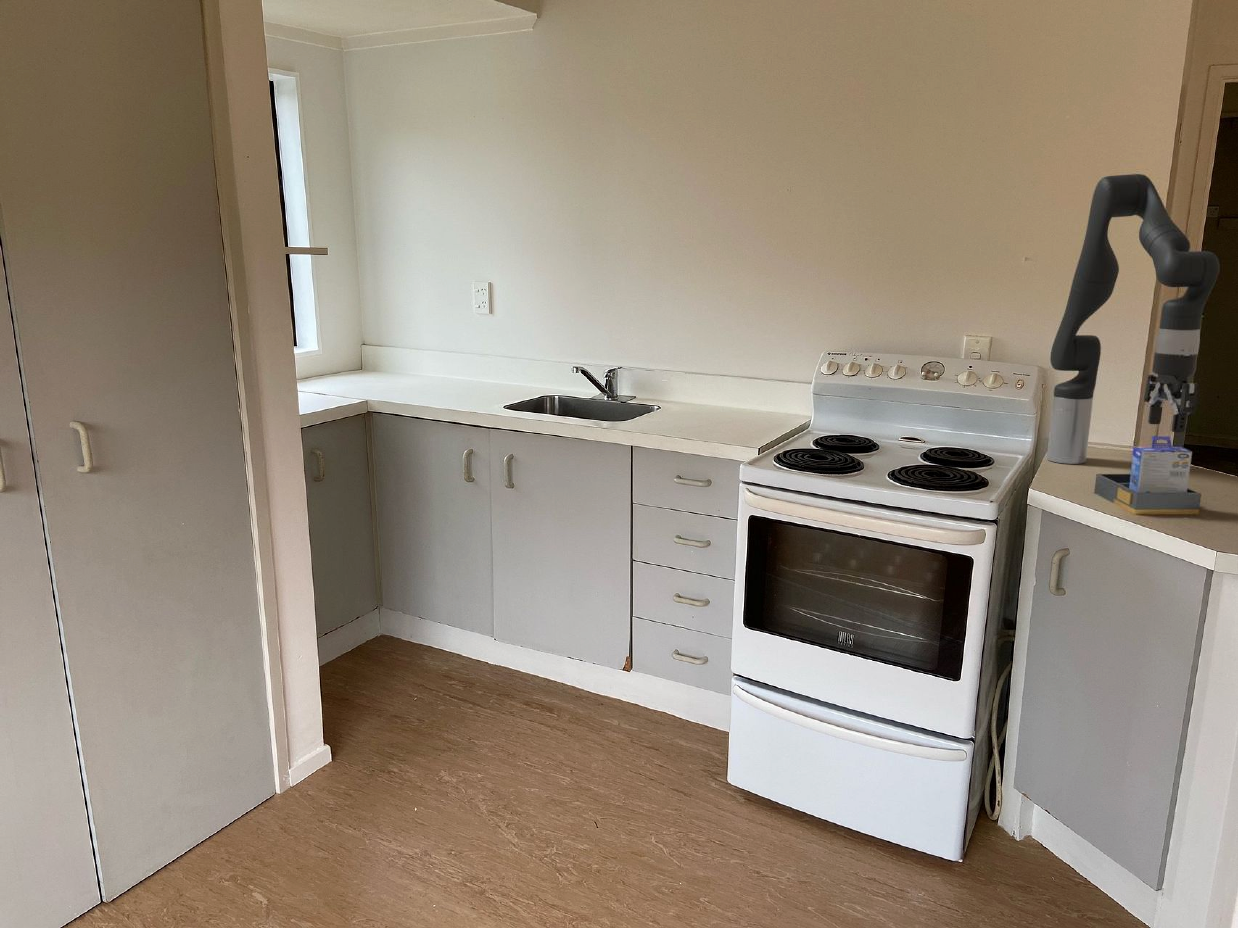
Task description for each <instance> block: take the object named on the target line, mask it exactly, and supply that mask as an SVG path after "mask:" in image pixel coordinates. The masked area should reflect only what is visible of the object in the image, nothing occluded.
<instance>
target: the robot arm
mask: <svg viewBox="0 0 1238 928" xmlns="http://www.w3.org/2000/svg"><path fill="white" fill-rule="evenodd" d="M1091 198H1092V199H1091V203H1090V209H1089V215H1088V220H1087V225H1086V230H1085V235H1084V240H1083V244H1082V248H1081V252H1080V256H1079V259H1078V262H1077V266H1076V268H1075V271H1074V274H1073V279H1072V282H1071V286H1070V291H1069V295H1068V298H1067V299H1068V300H1067V302H1066V305H1065V309H1064V313H1063V316H1062V319H1061V321H1060V324H1059V327H1058V329H1057V332H1056V334H1055V338H1054V341H1053V343H1052V346H1051V350H1050V361H1049V362H1050V365H1051V368H1053V369H1054V370H1055V371H1061V372H1062V371H1063V372H1078V373H1077V375H1075V376H1074V377H1073V378H1071V379H1069V380H1066V381H1062V382H1060V383H1057V384H1056V385H1055V386H1054V388H1053V396H1052V404H1051V405H1052V407H1051V415H1050V417H1051V418H1050V424H1049V425H1050V426H1049V434H1048V443H1047V444H1048V445H1047V455H1046V456H1047V457H1046V459H1047V460H1048V461H1050V462H1054V463H1059V464H1070V465H1071V464H1072V465H1074V464H1076V465H1077V464H1084V463H1085V464H1086V462H1087V453H1088V446H1089V436H1090V427H1091V420H1092V419H1091V418H1092V410H1093V409H1092V408H1093V402H1094V401H1093V400H1094V394H1095V388H1096V384H1097V378H1098V377H1097V376H1098V371H1099V365H1100V361H1101V354H1102V353H1101V351H1102V345H1101V341H1100V338H1099V337H1098V336H1096V335H1092V334H1091V335H1089V334H1087V335H1086V334H1085V335H1084V334H1083V335H1082V334H1077V333H1078V331H1080V330H1079V329H1080V328H1081V327H1082V326H1083V324H1084V323H1085V322H1086V321H1087V320H1088V319H1089V318H1090V317H1091V316H1093V314H1095V313H1096V312H1097V311H1098V310H1100V308H1101V307H1102V306H1104V305H1105V304H1106V303H1107V302H1108V300H1109V299H1110V298H1111V296H1112V294H1113V292H1114V289H1115V286H1116V282H1117V279H1118V275H1119V273H1120V266H1119V262H1118V259H1117V256H1116V254H1115V252H1114V250H1113V248H1112V246H1111V243H1110V240H1109V237H1108V236H1109V234H1108V233H1109V226H1110V222H1111V220H1112V218H1124V217H1125V218H1126V217H1134V216H1138V217H1139V218H1140V219H1142V222H1141V225H1140V228H1139V231H1138V238H1139V242H1140V245H1141V246H1142V248H1143V249H1144V250H1145V252H1146V253H1147V254H1148V255H1149V256H1150V258H1151V259H1152V262H1153V263H1152V264H1153V267H1154V269H1155V276H1156V280H1157V281H1158V282H1159V283H1160V284H1161V285H1163V286H1164V287H1168V288H1186V290H1185V292H1184V293H1183V295H1182V296H1180V297H1178V298H1177V297H1176V298H1173V299H1168V300H1165V302H1163V305H1162V307H1161V314H1160V321H1159V327H1158V328H1159V329H1158V333H1157V336H1156V341H1155V347H1154V348H1155V349H1154V356H1153V361H1152V363H1153V364H1152V372H1153V374H1148V375H1147V379H1146V384H1145V385H1146V386H1145V390H1144V391H1145V392H1144V398H1143V401H1144V403H1148V404H1147V405H1148V406H1149V412H1148V414H1149V415H1148V421H1147V422H1148V424H1150V425H1160V424H1161V421H1162V416H1163V415H1162V414H1163V406H1164V404H1165V402H1166V401H1167V402H1168V404H1169V405H1170V406H1172V411H1173V413H1174V414H1172V415H1173V416H1172V423H1171V430H1170V431H1171V432H1172V433H1176V434H1177V433H1184V432H1185V429H1186V423H1187V422H1186V421H1187V416H1188V415H1190V414H1194V413H1196V412H1197V411H1196V410H1197V401H1198V393H1199V384H1198V383H1195V382H1194V383H1189V377H1190V376H1193V375H1195V373H1196V370H1197V364H1198V363H1197V361H1198V356H1199V350H1200V341H1201V339H1200V338H1201V336H1200V333H1201V324H1202V317H1203V312H1204V308H1205V305H1206V303H1207V301H1208V298H1209V296H1210V294H1211V293H1212V290H1213V288H1214V286H1215V284H1216V282H1217V279H1218V276H1219V274H1220V261H1219V258H1218V257H1217V255H1216V254H1215V253H1214V252H1212V251H1207V250H1201V251H1200V250H1198V251H1197V250H1196V251H1195V250H1194V251H1193V250H1192V251H1190V249H1191V242H1190V240H1189V238H1188V237H1187V235H1186V234H1184V232H1183V231H1182V230H1181V229H1180V228H1179V227H1178V226H1177V225H1176V223H1175V222H1174V221H1173V220H1172V217H1170V215H1169V213H1168V212H1167V209H1166V207H1165V205H1164V203H1163V201H1162V198H1161V197H1160V194H1159V193H1158V191H1157V188H1156V186H1155V185H1154V183H1153V181H1152V180H1151V179H1150V177H1148V176H1147V175H1145V174H1144V173H1143V174H1140V173H1131V174H1119V175H1118V174H1116V175H1108V176H1104V177H1102V178H1100V180H1099V181H1098V182H1097V184H1096V186H1095V189H1094V191H1093V195H1092V197H1091ZM1151 392H1152V393H1151ZM1189 402H1190V404H1189Z"/></svg>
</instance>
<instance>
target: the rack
mask: <svg viewBox="0 0 1238 928" xmlns="http://www.w3.org/2000/svg"><path fill="white" fill-rule="evenodd" d="M1130 476H1131V473H1096V475H1095V484H1094V491H1093V494H1096V495H1097V496H1099V497H1101V498H1103V499H1105V500H1107V501H1109V502H1111V503H1113V504H1114V505H1117V506H1119V507H1120V508H1122V509H1124V510H1126V511H1127V512H1130V513H1132V514H1133V515H1199V512H1200V504H1201V497H1202V493H1201V492H1199V491H1197V490H1194V489H1192V488H1189V487H1187V493H1137V492H1135V491H1133V490H1131V489H1129V485H1130Z"/></svg>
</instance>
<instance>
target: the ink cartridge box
mask: <svg viewBox="0 0 1238 928" xmlns="http://www.w3.org/2000/svg"><path fill="white" fill-rule="evenodd" d="M1159 440H1162V441H1163V440H1164V441H1166V442H1165V443H1163V442H1156V441H1159ZM1192 456H1193V451H1191V450H1189V449H1187V448H1185V447H1183V446H1172V441H1171V436H1157V435H1155V436H1154V435H1152V436H1151V446H1133V447H1132V456H1131V457H1132V458H1131V468H1130V474H1131V476H1130V485H1129V489H1131V490H1133V491H1135V492H1137V493H1187V488H1189V487H1188V486H1189V479H1190V477H1189V476H1190V470H1191V465H1192V464H1191V463H1192Z"/></svg>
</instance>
